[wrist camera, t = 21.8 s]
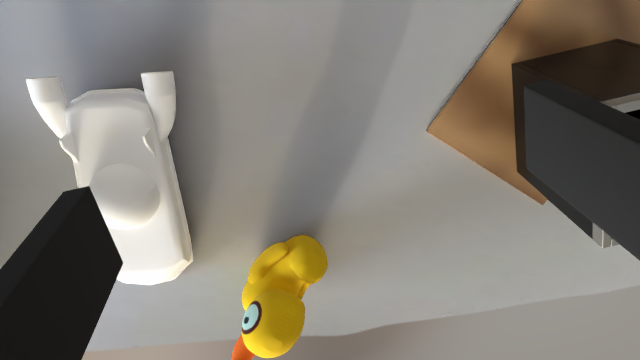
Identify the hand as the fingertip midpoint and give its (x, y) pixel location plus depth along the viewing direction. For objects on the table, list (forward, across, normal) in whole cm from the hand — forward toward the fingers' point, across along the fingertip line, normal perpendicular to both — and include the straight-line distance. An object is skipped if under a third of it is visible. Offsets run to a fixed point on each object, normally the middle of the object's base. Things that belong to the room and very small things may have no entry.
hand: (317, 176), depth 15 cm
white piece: (+27, -15, -9) cm, 32 cm away
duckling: (+27, -5, -20) cm, 34 cm away
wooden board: (+26, +22, -8) cm, 36 cm away
